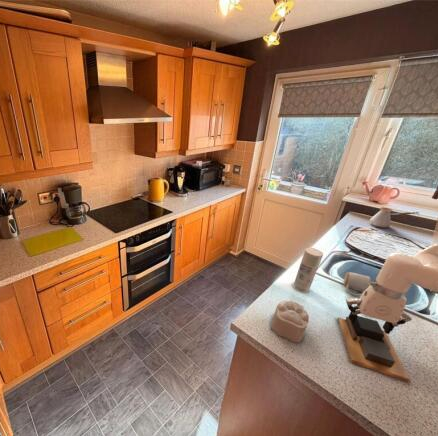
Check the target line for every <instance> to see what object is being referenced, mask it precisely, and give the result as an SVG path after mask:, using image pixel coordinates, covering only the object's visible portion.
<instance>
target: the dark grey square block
mask: <svg viewBox="0 0 438 436" xmlns="http://www.w3.org/2000/svg"><path fill="white" fill-rule="evenodd" d="M357 316H358V317H357V319H356V321H355V323H354V324H352V325H353V327H354V330H355V333H356V335H357V336H359V337H361V336H363V337H366V338H370V339H373V340H376V341H379V342H380V341H381V340H382V338H383V337H384V333H383V331H384V330H383V328H382V327H381V325H380V323H379V322H378V320H376V319H371V318H367V317H364V316H361V315H357ZM382 330H383V331H382Z"/></svg>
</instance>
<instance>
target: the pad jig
mask: <svg viewBox="0 0 438 436" xmlns="http://www.w3.org/2000/svg"><path fill="white" fill-rule="evenodd" d="M337 322H338V325H339V326H338V327H339V329H340V331H341V334H342V335H341V336H342V338H343V341H344V344H345V346H346V351H347V354H348V357H349V360H350V362H351V363H353V364H356V365H359V366H361V367H364V368H367V369H371V370H373V371H376V372H379V373H382V374H384V375H388V376H391V377H393V378H395V379H399V380H402V381H405V382H410V379H411V378H410V377H409V375H408V372H407V370H406V369H405V367H404V365H403V363H402V362H401V359H400V358H399V356H398V353H397V352H396V350H395V348H394V346H393V344H392V342H391V340H390V338H389V336H388V334H386V333H385V331H384V329H382V331H383V333H384V337H383V338H382V340H381V341H380V342H379V341H376V340H373V339H370V338H366V337H363V336H361V337H359V336H357V335H356V333H355V330H354V327H353V325H352V323H351V321H350V319H349V318H348V316H346V317H345V318H341V317H337Z"/></svg>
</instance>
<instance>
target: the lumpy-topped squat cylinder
mask: <svg viewBox="0 0 438 436" xmlns="http://www.w3.org/2000/svg"><path fill="white" fill-rule="evenodd" d="M309 322H310V319H309V314H308V312H307V311H306V309H305V308H304V307H303V306H302V305H301V304H299V303H298V302H296V301H292V300H283V301H280V302H278V303H277V304H276V307H275V311H274V314H273V317H272V321H271V330H272V331H273V332H274V333H275V334H276V335H278V336H281V337H283V338H286V339H288V340H289V341H291V342H293V343H300V342H301V341H302V340H303V337H304V335H305V332H306V330H307V328H308V325H309Z"/></svg>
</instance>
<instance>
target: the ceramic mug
mask: <svg viewBox="0 0 438 436" xmlns="http://www.w3.org/2000/svg"><path fill="white" fill-rule="evenodd" d="M369 281H371V277H370V276H368V275H364V274H360V273H355V272H352V271H351V272H350V271H347V272H346V273H345V275H344V277H343V281H342V284H343V286H344V287H345V289H346V292H347V293H348V294H350V295H351V296H353V297H359V298H360V297H361V295H362V294H363V293H364V291H365V290H366V289H367V288H368V287H369V286H370V285H369V284H368V283H369ZM350 289H351V290H354V291H357V292H360V293H357V294H356V293H354V292H352V291H351V290H350Z"/></svg>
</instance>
